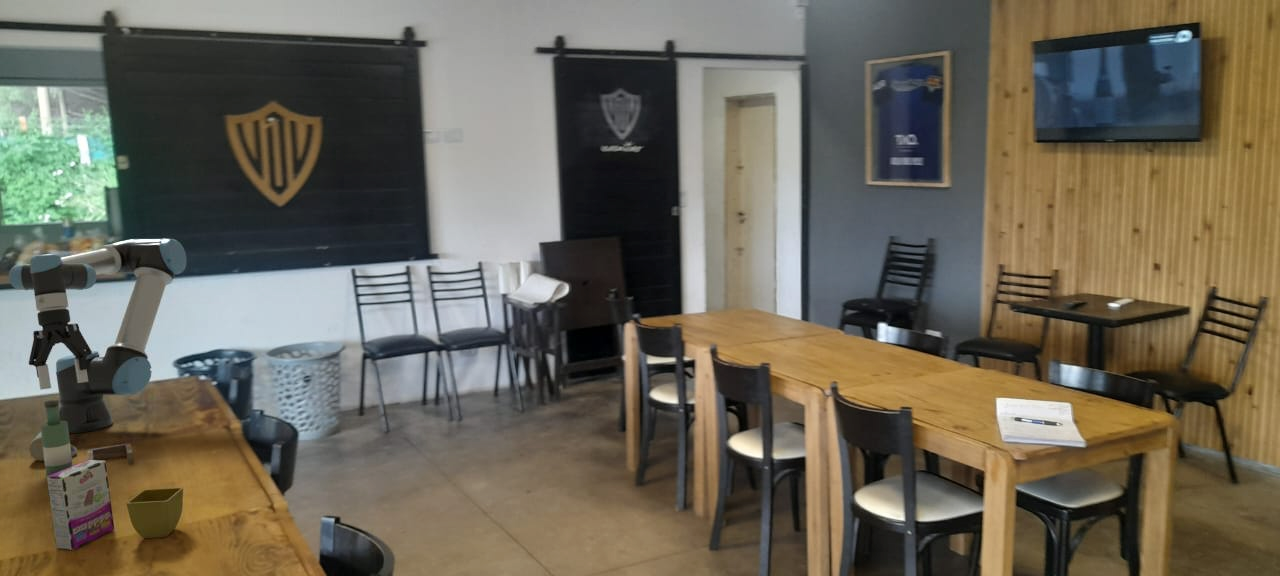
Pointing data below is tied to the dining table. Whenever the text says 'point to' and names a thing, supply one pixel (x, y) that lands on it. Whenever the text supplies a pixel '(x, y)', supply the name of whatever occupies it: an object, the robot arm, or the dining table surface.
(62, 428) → the bottle
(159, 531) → the flower pot
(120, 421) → the dining table surface
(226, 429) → the dining table surface
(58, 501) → the candy bar box
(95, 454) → the u rest
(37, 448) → the ceramic mug
